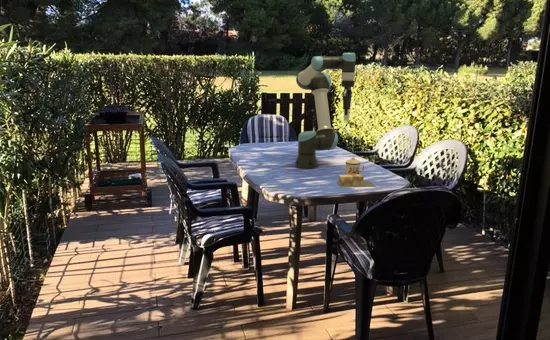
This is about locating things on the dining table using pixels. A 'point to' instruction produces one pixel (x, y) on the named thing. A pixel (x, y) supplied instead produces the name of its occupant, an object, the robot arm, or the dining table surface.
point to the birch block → (351, 179)
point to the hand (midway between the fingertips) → (346, 120)
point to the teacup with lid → (353, 167)
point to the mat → (365, 184)
